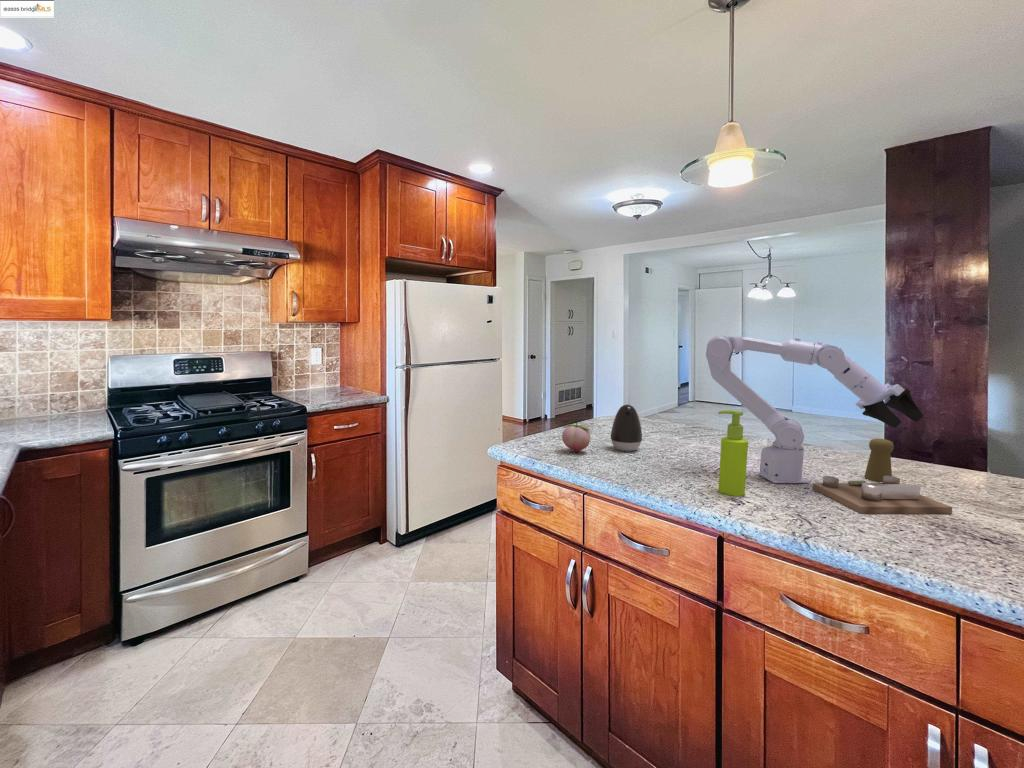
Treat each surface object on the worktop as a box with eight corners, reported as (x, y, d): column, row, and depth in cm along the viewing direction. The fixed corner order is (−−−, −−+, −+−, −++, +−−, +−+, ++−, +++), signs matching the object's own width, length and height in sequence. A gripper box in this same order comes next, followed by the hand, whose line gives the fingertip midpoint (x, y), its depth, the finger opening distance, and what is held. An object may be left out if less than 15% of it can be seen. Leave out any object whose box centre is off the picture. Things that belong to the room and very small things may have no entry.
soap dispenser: (716, 485, 119) (720, 408, 117) (746, 491, 115) (751, 411, 113) (711, 492, 114) (716, 411, 112) (742, 497, 111) (747, 414, 108)
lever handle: (869, 500, 104) (870, 487, 104) (857, 495, 108) (858, 482, 108) (923, 500, 104) (924, 487, 104) (909, 495, 108) (911, 482, 108)
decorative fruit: (593, 450, 154) (594, 420, 153) (587, 456, 147) (587, 425, 146) (566, 447, 158) (566, 418, 157) (558, 453, 150) (559, 422, 149)
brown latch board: (860, 513, 101) (862, 497, 101) (812, 488, 117) (813, 475, 117) (952, 513, 101) (953, 498, 101) (891, 489, 118) (892, 475, 117)
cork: (897, 483, 122) (901, 442, 121) (871, 482, 123) (875, 441, 122) (884, 476, 128) (888, 437, 127) (859, 475, 129) (863, 436, 128)
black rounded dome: (610, 453, 151) (612, 406, 150) (609, 445, 161) (610, 401, 160) (643, 454, 150) (645, 407, 148) (640, 446, 160) (641, 402, 158)
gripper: (889, 362, 109) (942, 403, 105) (853, 379, 123) (899, 417, 119) (869, 381, 108) (921, 424, 104) (835, 397, 122) (880, 435, 118)
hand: (908, 422), depth 111 cm, fingers open, 7 cm apart
